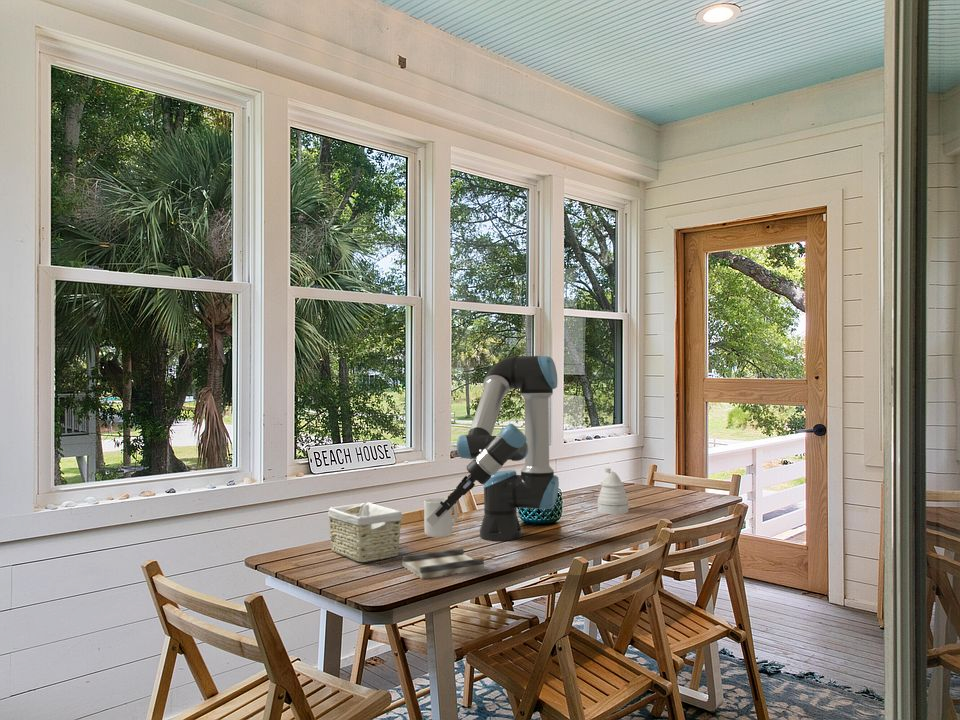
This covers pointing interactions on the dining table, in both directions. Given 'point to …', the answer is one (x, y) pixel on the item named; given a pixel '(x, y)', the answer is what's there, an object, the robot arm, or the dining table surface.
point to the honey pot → (612, 495)
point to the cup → (444, 523)
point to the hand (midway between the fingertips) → (432, 519)
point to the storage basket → (365, 531)
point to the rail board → (441, 563)
